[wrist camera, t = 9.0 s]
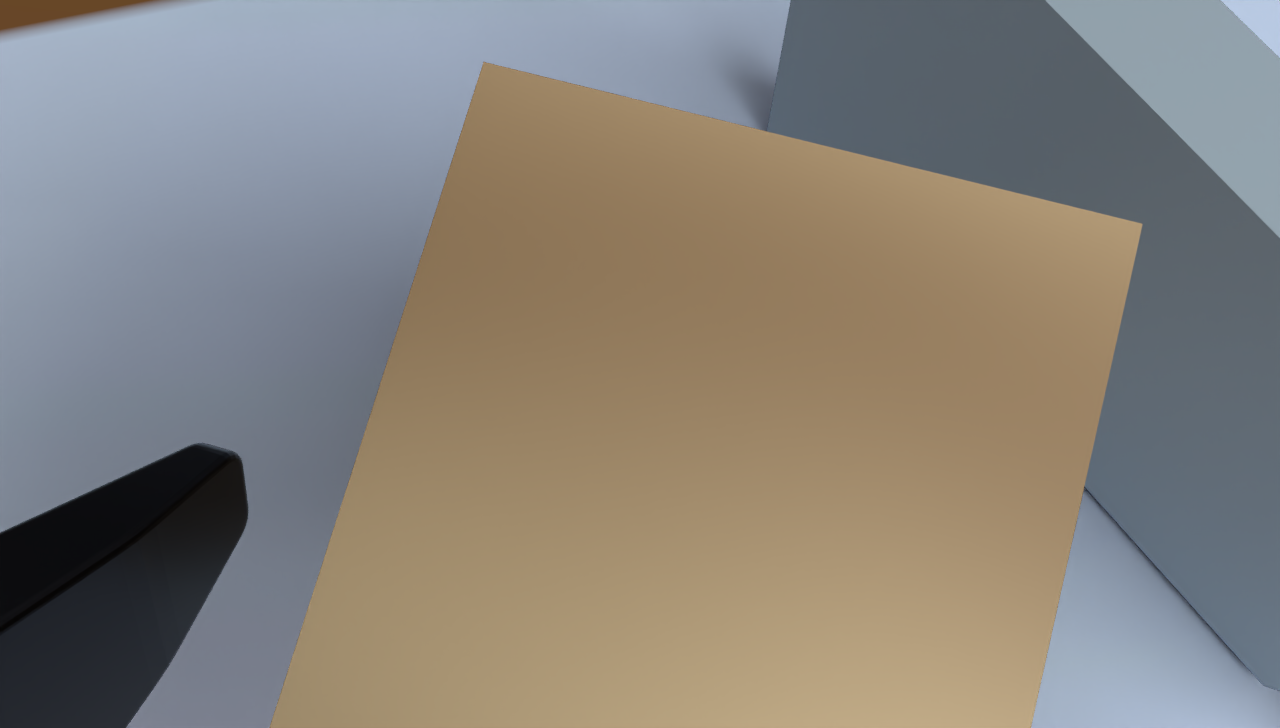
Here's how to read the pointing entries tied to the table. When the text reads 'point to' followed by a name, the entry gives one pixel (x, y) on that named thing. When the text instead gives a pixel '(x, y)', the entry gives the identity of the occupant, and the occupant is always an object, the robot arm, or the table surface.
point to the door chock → (713, 437)
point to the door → (1120, 187)
